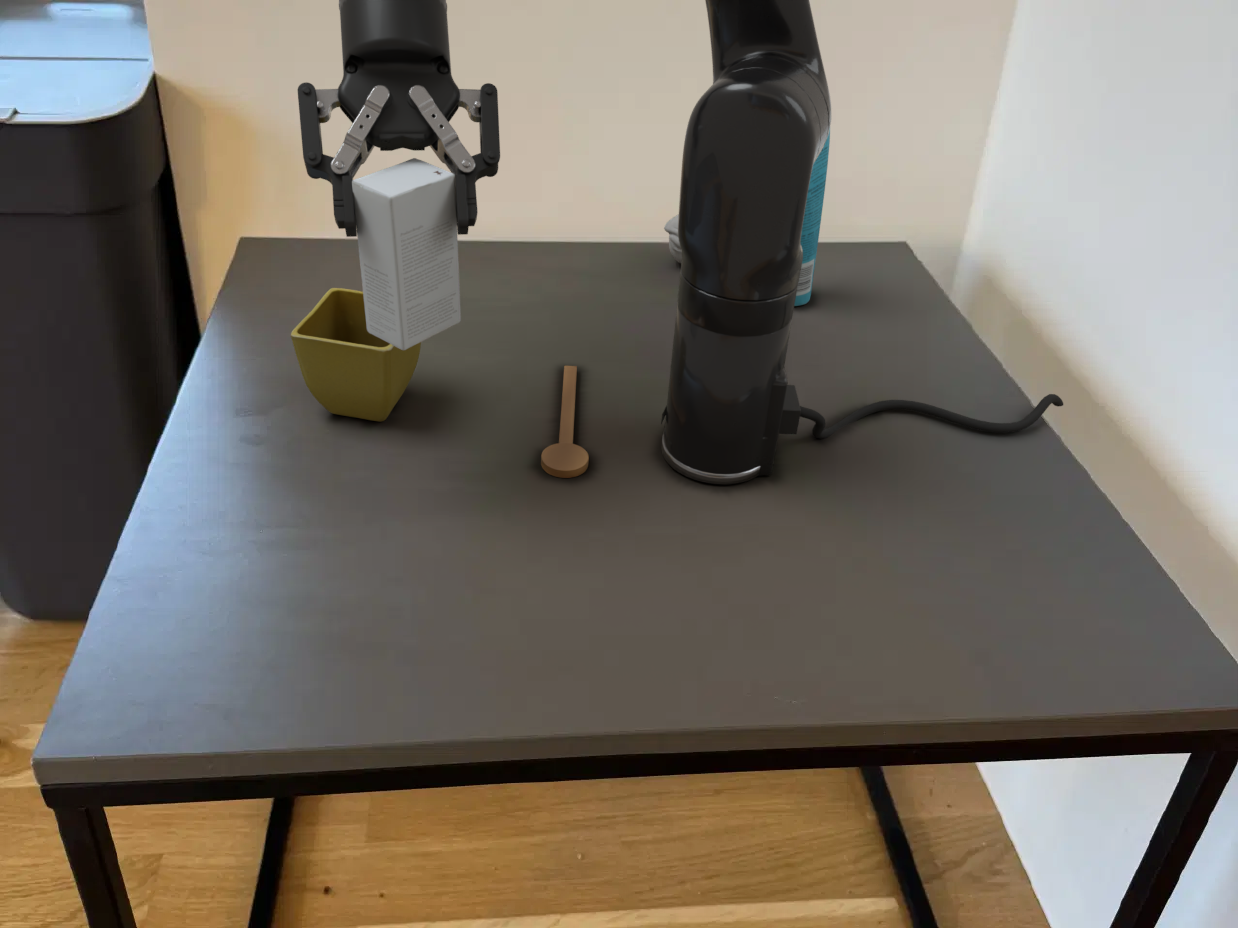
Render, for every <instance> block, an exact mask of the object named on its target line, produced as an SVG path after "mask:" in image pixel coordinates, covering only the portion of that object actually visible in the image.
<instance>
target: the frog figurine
mask: <svg viewBox="0 0 1238 928" xmlns="http://www.w3.org/2000/svg"><path fill="white" fill-rule="evenodd" d="M678 216H679V213H678V214H676V215H675V216H672V218H670V219H669V220H668V221H667V222H666V223H665V225H664V226H663V229H664V231H665V232H666V233H668V248H669V251H670V254H671V256H672V258H673V259H674V260H675V261H676V262H678V264H681V261H682V250H681V247H680V243H679V238H678Z"/></svg>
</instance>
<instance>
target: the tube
mask: <svg viewBox="0 0 1238 928" xmlns="http://www.w3.org/2000/svg"><path fill="white" fill-rule="evenodd" d="M830 139H831V129H830V130H829V135H828V137H827V140H826V142H825V145H824V147H823V149H822V150H821V152H820V154H819V156H818V157H817V159H816V161H815V162H814V164H813V168H812V173H811V178H810V183H809V189H808V195H807V201H806V207H805V214H804V220H803V226H802V233H801V242H800V244H801V246H802V250H803V261H802V267H801V272H800V278H799V283H798V287H797V293H796V299H795V305H794V307H800V306H803V305H806V304H807V303H809V302H810V300H811V295H812V289H813V282H814V273H815V268H816V261H817V251H818V244H819V238H820V230H821V223H822V215H823V207H824V199H825V192H826V182H827V173H828V165H829V155H830V142H831V140H830Z"/></svg>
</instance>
